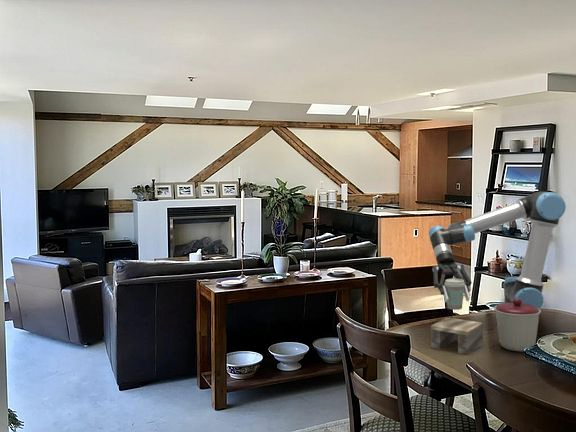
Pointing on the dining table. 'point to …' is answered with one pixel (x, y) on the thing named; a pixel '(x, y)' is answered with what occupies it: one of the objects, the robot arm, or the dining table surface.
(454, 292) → the coffee cup
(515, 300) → the canister
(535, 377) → the dining table surface
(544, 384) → the dining table surface
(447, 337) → the shelf
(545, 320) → the dining table surface
